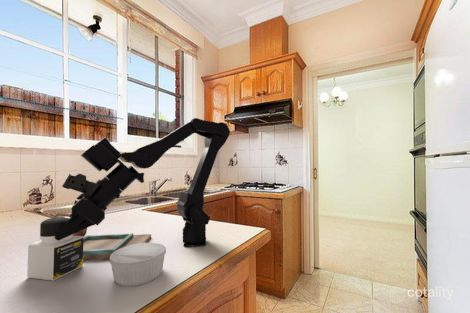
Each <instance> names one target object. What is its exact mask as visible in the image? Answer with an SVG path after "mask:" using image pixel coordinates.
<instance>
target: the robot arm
mask: <svg viewBox="0 0 470 313" xmlns="http://www.w3.org/2000/svg"><path fill="white" fill-rule="evenodd" d="M230 133H231V129H230V128H229V125H228V124H227V123H225V122H221V121H220V122H215V121H210V120H204V119H200V118H197V117H194V118H192V119H190V120H188V121H187V122H186V123H185V124H183V125H181V126H180V127H178V128H177V129H175V130H173V131H171V132H169V134H167V135H164V137H162V138H160V139H159V140H157V141H155V142H152V143H149V144H146V145H144V146H142V147H138V148H136V149H134V150H133V151H131V152H126V151H125V152H122V153H121V152H120V151H119V150H117V148H116V147H115V146H114V145H113V144H112V143H111V142H110V141H109V140H108V139H107V138H106V137H105V138H102V140H100V141H98V142H97V143H95V144H92V145H91V146H90V147H89V148H87V150H86V151H84V152H83V153H82V154H81V155H80V157H81V158H83V160H85V161H86V162H88V163H89V164H90V165H91V166H92V167H93V168H95V169H96V170H97V171H98V172H101V171H105V173H106V172H108V171H109V170H111V169H112V168H113V169H112V170H111V171H110V172H108V174H106V175H105V176H104V177H103V178H102V179H98V180H96V182H95V181H93V180H90V179H88V178H87V175H86V174H82V173H78V174H73V173H69V174H68V176H67V177H66V179H65V181H64V183H63V184H62V186H61V188H64V189H67V190H73V191H75V192H79V193H80V195H78V196H77V197H76V199H77V200H74V204H73V205H72V206H71V212H70V213H71V214H70V216H69V217H70V219H69V220H68V221H67V222H66V224H65V225H64V226H63V227H62V229H61V230H60V231H59V232H58V233H57V235H56V236H55V239H56V240H58V241H59V240H61V239H63V238H65V237H68V236H70V235H72V234H74V233H76V232H79V231H81V230H83V229H85V228H87V229H88V228H90V227H92V226H99V225H100V224H101V223H102V222H103V221H105V217H106V212H105V211H106V210H107V209H108V208H107V207H108V206H109V205H110V204H111V203H112V202H114V201H115V200H116V199H119V198H120V197H121V194H122V193H123V192H124V191H126V189H127V188H128V187H129V186H130V185H131V184H133V183H134V182H135V181H137V182H139V183H140V184H144V183H145V179H144V176H145V172H139V171H138V170H137V169H148V168H151V167H152V166H154V165H155V163H157V162H158V161H159V160H160V159H161V158H162V157H163V156H164V154H166V152H168V151H169V150H170V149H172V148H174V147H175V146H176V145H178V144H179V143H181V142H182V141H184V140H186V139H187V138H189V137H191V136H192V135H193V134H197V135H199V136H200V137H202V138H203V139H204V140H203V141H204V147H203V150H202V154H201V156H200V159H199V160H198V164H197V167H196V170H195V173H194V175H193V177H192V180H191V183H190V186H189V188H188V189H187V190H186V191H181V192H180V193H179V198H178V200H177V201H176V203H175V204H176V205H177V206H176V211H177V213H178V215H179V216H181V217H182V219H183V221H184V226H183V228H182V243H183V247H199V246H203V247H204V246H206V245H207V232H206V231H207V228H206V227H207V225H208V224H209V222H210V219H211V218H210V216H209V215H208V214H207V212H205V211H204V209H203V208H204V204H205V195H204V194H205V193H204V192H205V189H206V186H207V183H208V181H209V178H210V175H211V173H212V169H213V167H214V164H215V161H216V159H217V156H218V153H219V151H220V150H221V148H222V147H223V146H224V145H225V144H226V142H227V140H228V138H229V137H230ZM123 162H124V163H129V164H131V165H130V166H127V165H126V164H124V163H123ZM116 164H117V166H115V165H116ZM114 166H115V167H114ZM135 168H136V169H135Z"/></svg>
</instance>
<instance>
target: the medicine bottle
mask: <svg viewBox="0 0 470 313" xmlns="http://www.w3.org/2000/svg"><path fill="white" fill-rule="evenodd" d="M69 219H70V217H55V218H54V217H50V218H47V219H45V220H43V221H41V223H40V227H39V228H40V229H39V240H38V241H35V242H32V243H30V244H28V245H27V273H26V274H27V275H26V276H27V278H28V279H34V280H35V279H36V280H43V281H45V280H46V281H56V280H59V279H60V278H62V277H64V276H66V275H68V274H70V273H73V272H74V271H76V270H77V269H80V268H82V267H83V265H84V260H83V239H84V237H85V236H84V237H83V236H72V235H73V234H72V235H70V236H68V237H65V238H63V239H61V240H59V241H58V240H56V239H55V236H56V235H57V233H58V232H59V231H60V230H61V229H62V227H63V226H64V225H65V224H66V222H67V221H68V220H69Z"/></svg>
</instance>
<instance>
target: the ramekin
mask: <svg viewBox="0 0 470 313" xmlns="http://www.w3.org/2000/svg"><path fill="white" fill-rule="evenodd" d="M166 253H167V247H166V246H165V245H164V244H161V243H158V242H157V243H156V242H147V243H138V244H133V245H129V246H126V247H123V248H120V249H118V250H117V251H115V252H113V253H112V254H111V256H110V259H109V264H110V265H111V271H112V275H113V276H112V277H113V279H114V282H115V283H116V284H118V285H119V286H123V287H136V286H141V285H145V284H148V283H150V282H152V281H154V280H156V278H158V277H159V276H160V275H161V273H162V271H163V269H164V262H165V256H166Z"/></svg>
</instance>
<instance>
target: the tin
mask: <svg viewBox="0 0 470 313" xmlns="http://www.w3.org/2000/svg"><path fill="white" fill-rule="evenodd" d="M71 213H72V212H63V213H61V212H60V213H57V214H55V215H54V216H53V218H55V217H69V216H70V214H71ZM87 230H88V228H85V229H83V230H81V231H79V232H76V233H74V234H73V235H72V236H83V237H85V236H87Z"/></svg>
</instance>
